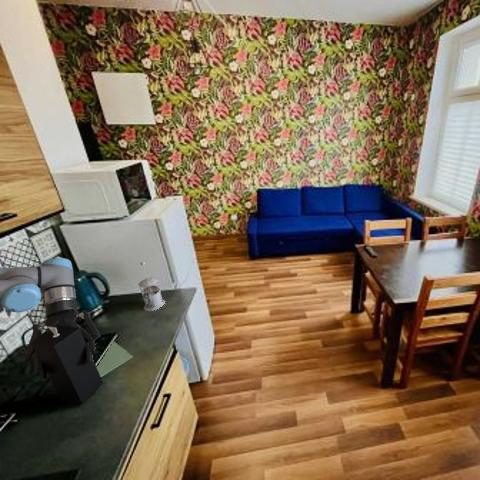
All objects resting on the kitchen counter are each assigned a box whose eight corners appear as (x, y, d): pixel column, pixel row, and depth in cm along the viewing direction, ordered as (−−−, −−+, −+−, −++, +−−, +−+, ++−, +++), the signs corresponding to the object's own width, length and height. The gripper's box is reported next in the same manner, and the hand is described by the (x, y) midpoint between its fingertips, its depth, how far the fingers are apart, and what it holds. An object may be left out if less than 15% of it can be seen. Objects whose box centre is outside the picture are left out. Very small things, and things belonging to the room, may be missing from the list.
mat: (54, 367, 101) (54, 366, 101) (109, 337, 115) (108, 337, 115) (77, 392, 91) (76, 391, 91) (133, 356, 106) (132, 356, 105)
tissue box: (84, 380, 94) (54, 316, 84) (104, 383, 93) (76, 319, 82) (61, 401, 87) (25, 334, 76) (82, 404, 86) (49, 337, 75)
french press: (151, 313, 130) (138, 268, 120) (137, 307, 135) (122, 263, 125) (169, 302, 138) (158, 259, 129) (155, 296, 143) (143, 255, 133)
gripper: (106, 295, 98) (115, 355, 92) (19, 316, 87) (23, 386, 80) (100, 290, 92) (109, 354, 85) (5, 312, 80) (8, 388, 74)
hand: (67, 370), depth 83 cm, fingers closed on tissue box, 10 cm apart
